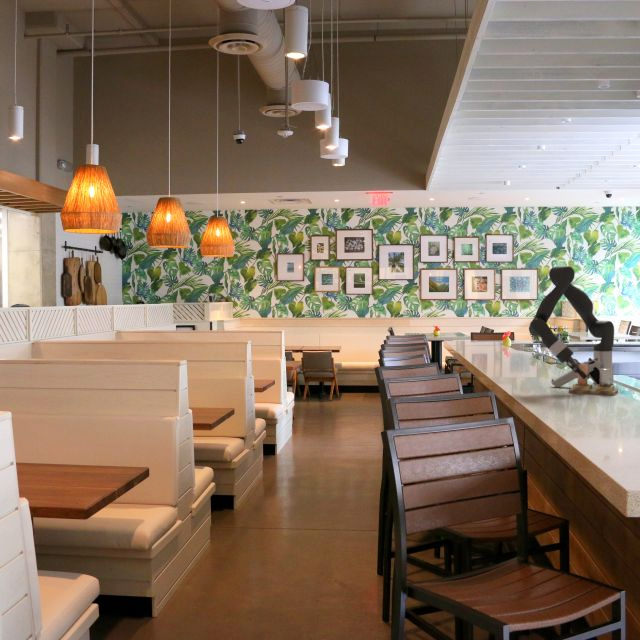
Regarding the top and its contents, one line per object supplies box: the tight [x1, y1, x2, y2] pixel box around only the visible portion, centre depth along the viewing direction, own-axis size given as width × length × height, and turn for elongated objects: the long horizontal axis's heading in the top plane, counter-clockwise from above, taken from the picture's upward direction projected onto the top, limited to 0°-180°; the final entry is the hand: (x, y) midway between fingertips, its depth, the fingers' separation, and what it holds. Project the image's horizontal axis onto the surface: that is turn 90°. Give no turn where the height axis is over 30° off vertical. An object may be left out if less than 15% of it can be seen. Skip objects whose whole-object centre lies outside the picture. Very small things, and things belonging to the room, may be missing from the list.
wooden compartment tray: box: [568, 383, 619, 396], centre depth 350 cm, size 20×13×4 cm, turn 59°
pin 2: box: [600, 369, 611, 387], centre depth 347 cm, size 4×4×10 cm
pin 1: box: [577, 363, 588, 386], centre depth 352 cm, size 4×4×10 cm
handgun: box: [550, 357, 611, 388], centre depth 373 cm, size 4×28×15 cm, turn 86°
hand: (586, 377), depth 351 cm, fingers closed on pin 1, 4 cm apart
